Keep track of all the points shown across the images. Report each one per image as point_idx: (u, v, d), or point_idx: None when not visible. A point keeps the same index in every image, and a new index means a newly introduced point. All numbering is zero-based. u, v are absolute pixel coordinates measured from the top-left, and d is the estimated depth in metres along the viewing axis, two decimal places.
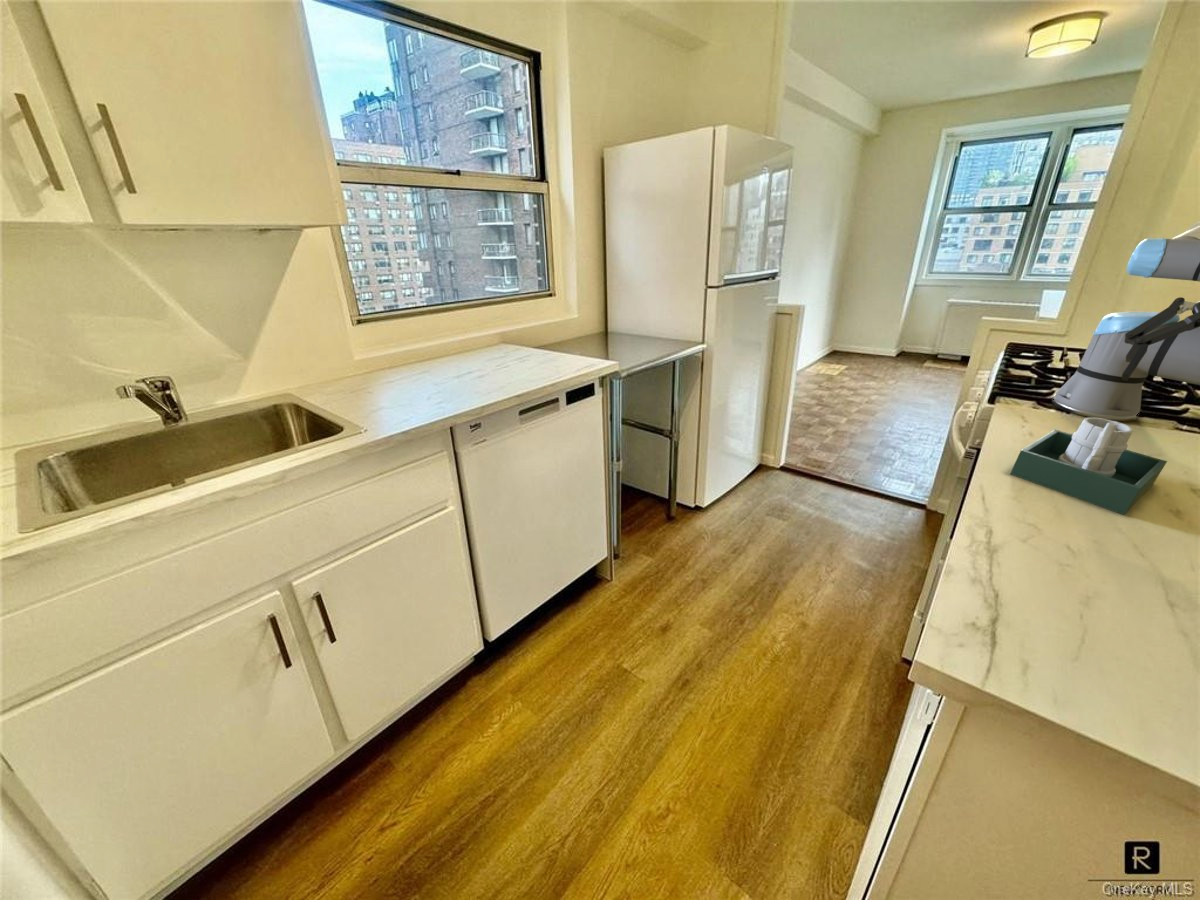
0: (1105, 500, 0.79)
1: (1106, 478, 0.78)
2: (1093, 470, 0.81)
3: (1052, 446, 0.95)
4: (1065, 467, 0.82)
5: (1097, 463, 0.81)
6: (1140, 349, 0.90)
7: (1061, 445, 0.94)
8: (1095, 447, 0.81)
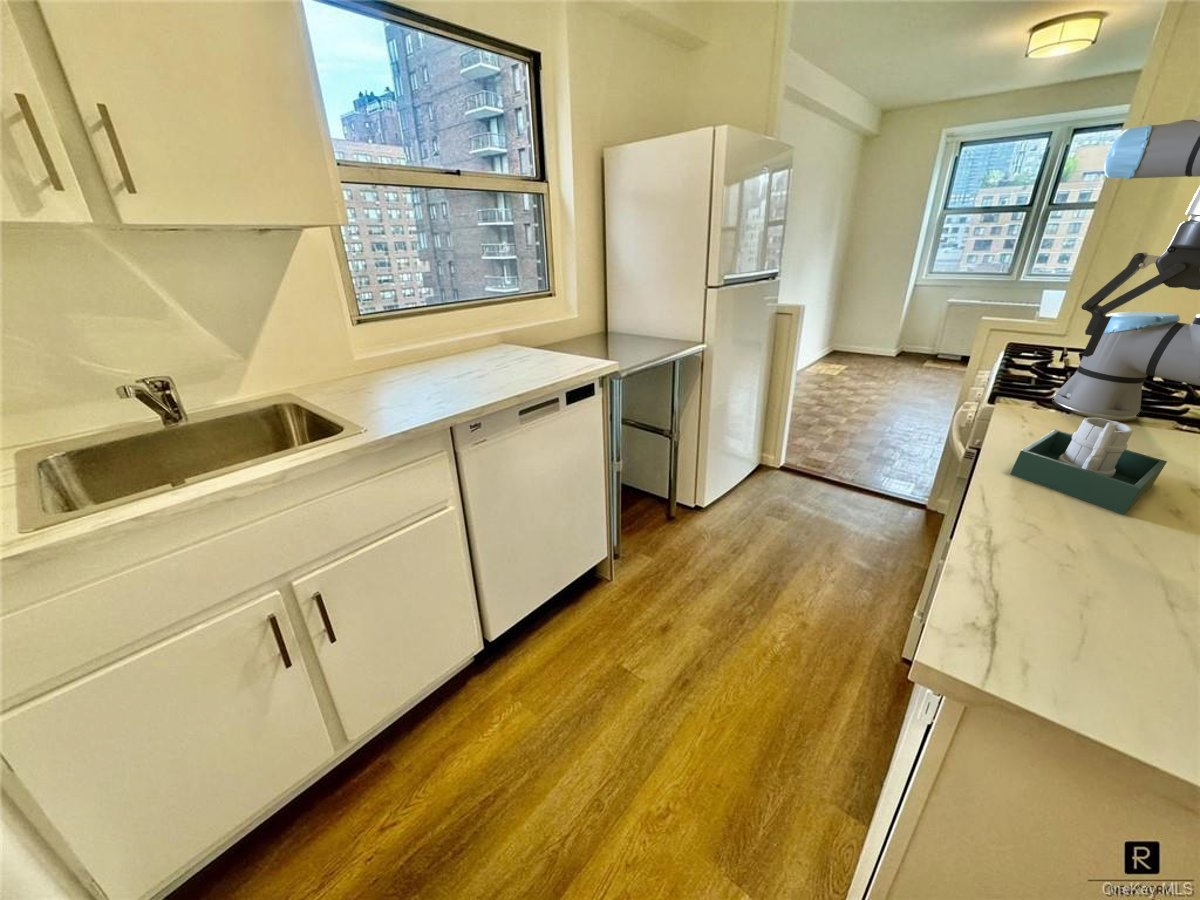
0: (1105, 500, 0.79)
1: (1106, 478, 0.78)
2: (1093, 470, 0.81)
3: (1052, 446, 0.95)
4: (1065, 467, 0.82)
5: (1097, 463, 0.81)
6: (1098, 325, 0.80)
7: (1061, 445, 0.94)
8: (1095, 447, 0.81)
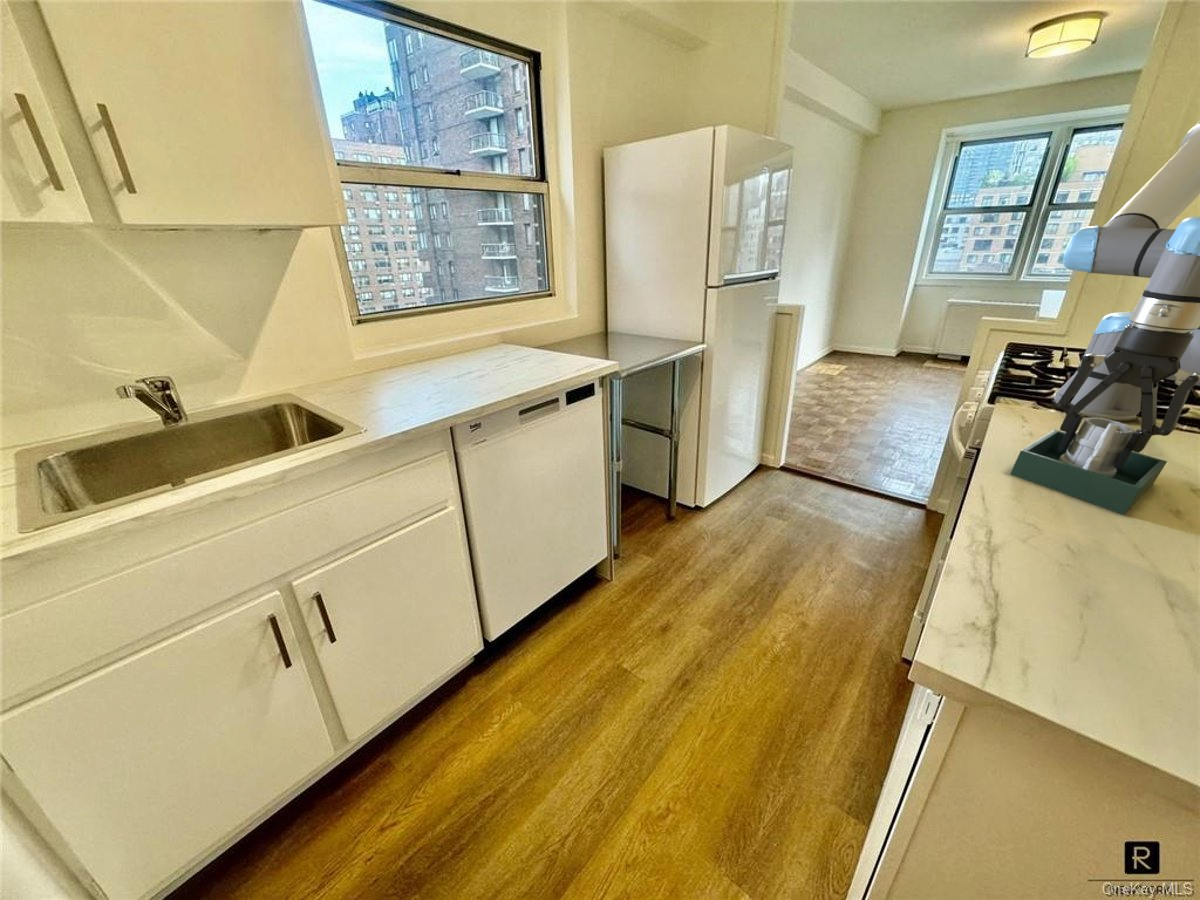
0: (1105, 500, 0.79)
1: (1106, 478, 0.78)
2: (1094, 470, 0.81)
3: (1052, 446, 0.95)
4: (1065, 467, 0.82)
5: (1098, 464, 0.81)
6: (1072, 423, 0.85)
7: None
8: (1096, 448, 0.81)
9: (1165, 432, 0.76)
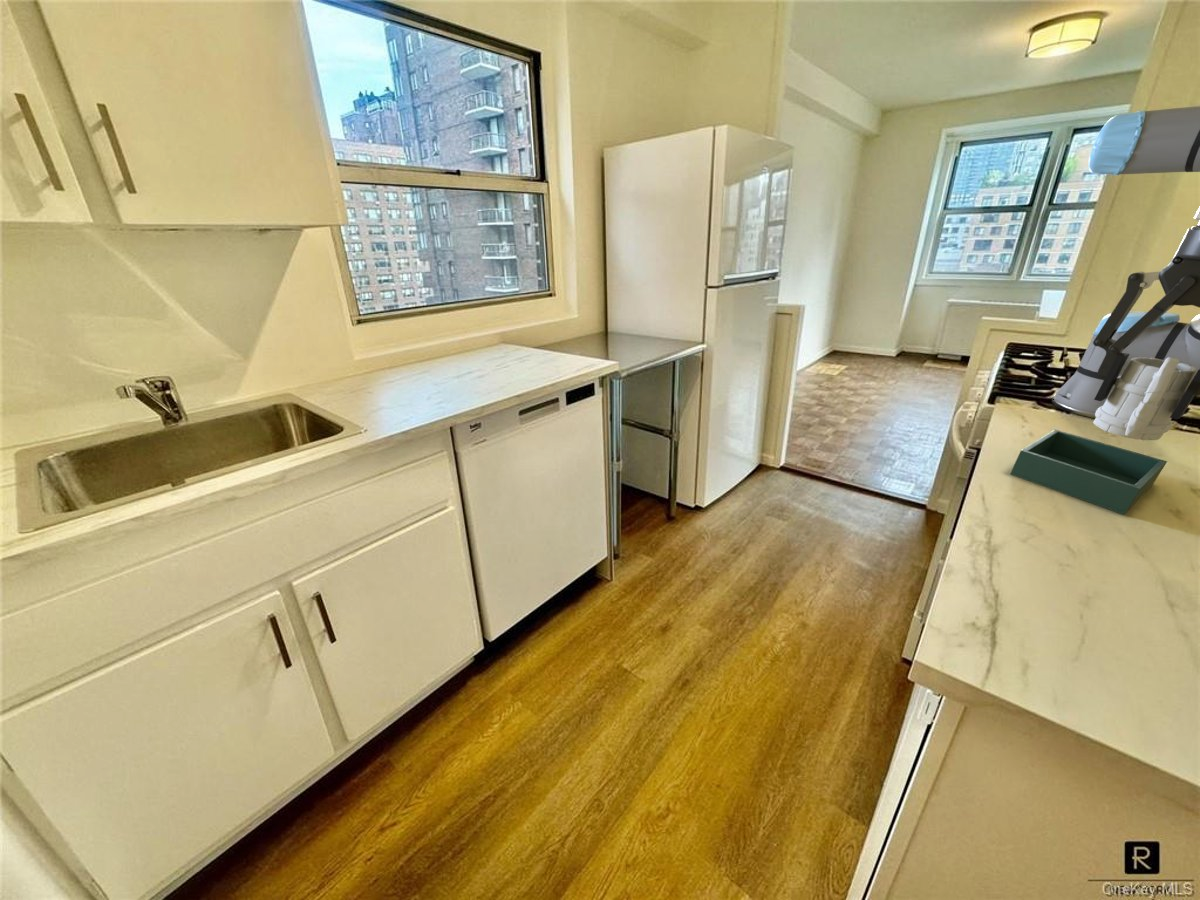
0: (1105, 500, 0.79)
1: (1106, 478, 0.78)
2: (1146, 421, 0.63)
3: (1052, 446, 0.95)
4: (1065, 467, 0.82)
5: (1152, 412, 0.62)
6: (1114, 364, 0.67)
7: (1061, 445, 0.94)
8: (1149, 391, 0.62)
9: None
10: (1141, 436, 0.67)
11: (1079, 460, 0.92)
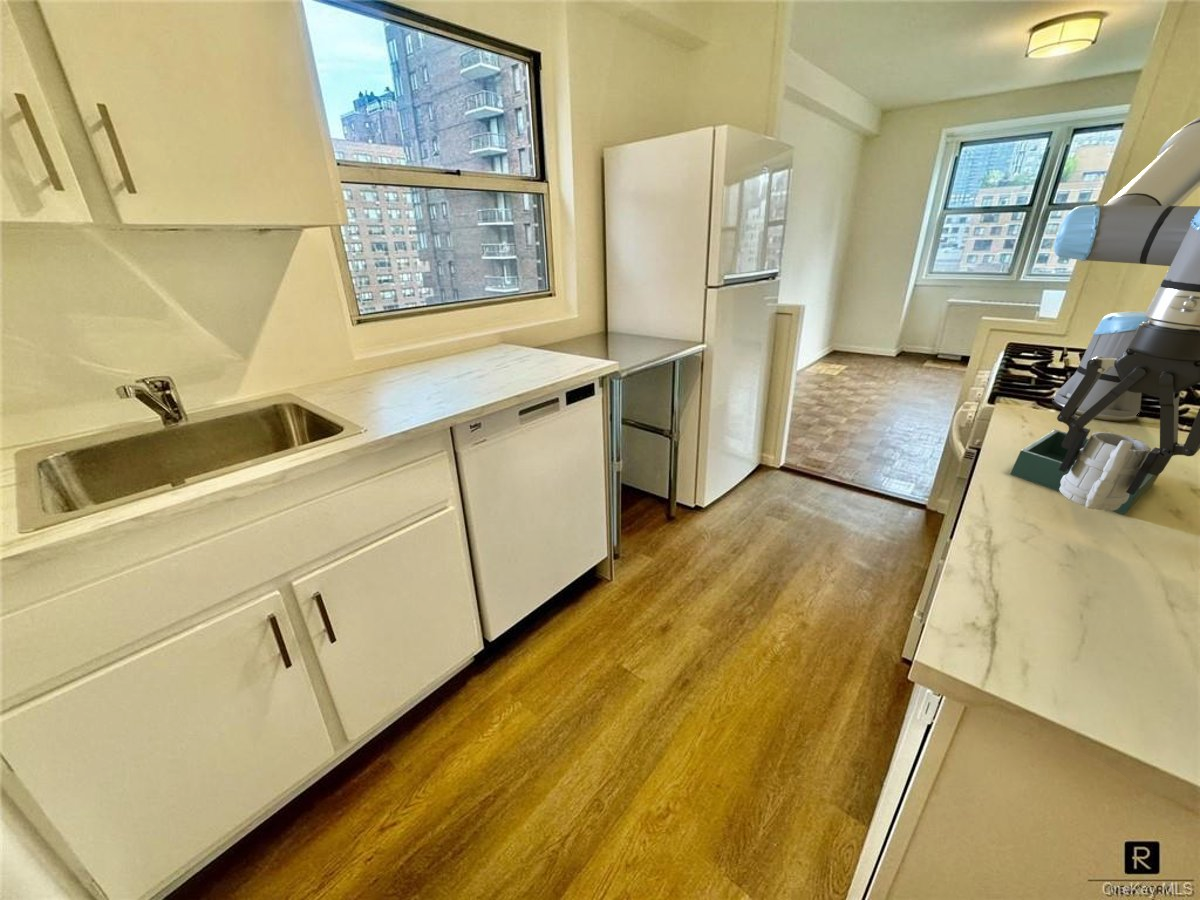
0: None
1: None
2: (1103, 497, 0.68)
3: (1052, 446, 0.95)
4: None
5: (1108, 489, 0.67)
6: (1075, 440, 0.72)
7: (1061, 445, 0.94)
8: (1106, 469, 0.67)
9: (1189, 452, 0.63)
10: (1101, 506, 0.72)
11: None
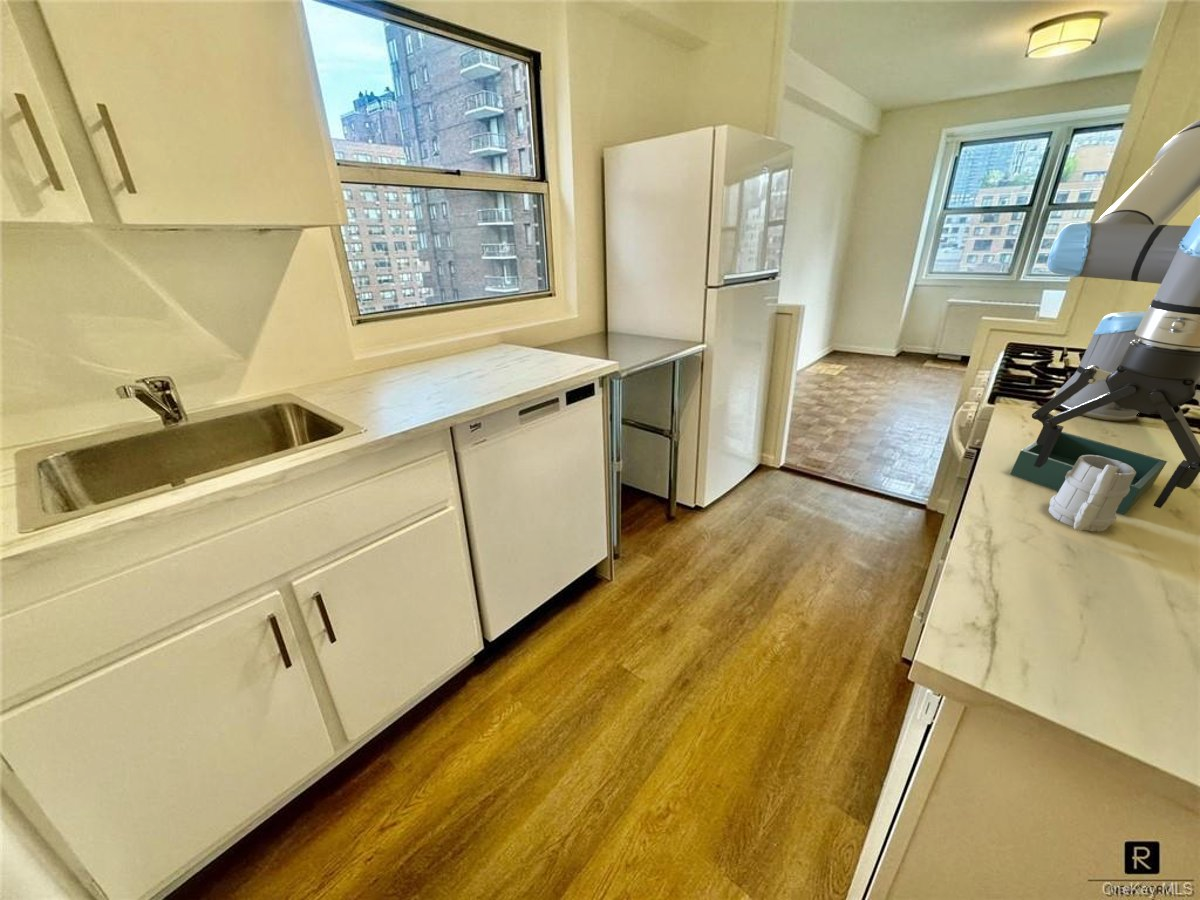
0: None
1: None
2: (1090, 519, 0.70)
3: None
4: (1065, 467, 0.82)
5: (1095, 511, 0.69)
6: (1049, 436, 0.74)
7: (1061, 445, 0.94)
8: (1092, 493, 0.69)
9: None
10: (1089, 528, 0.73)
11: None
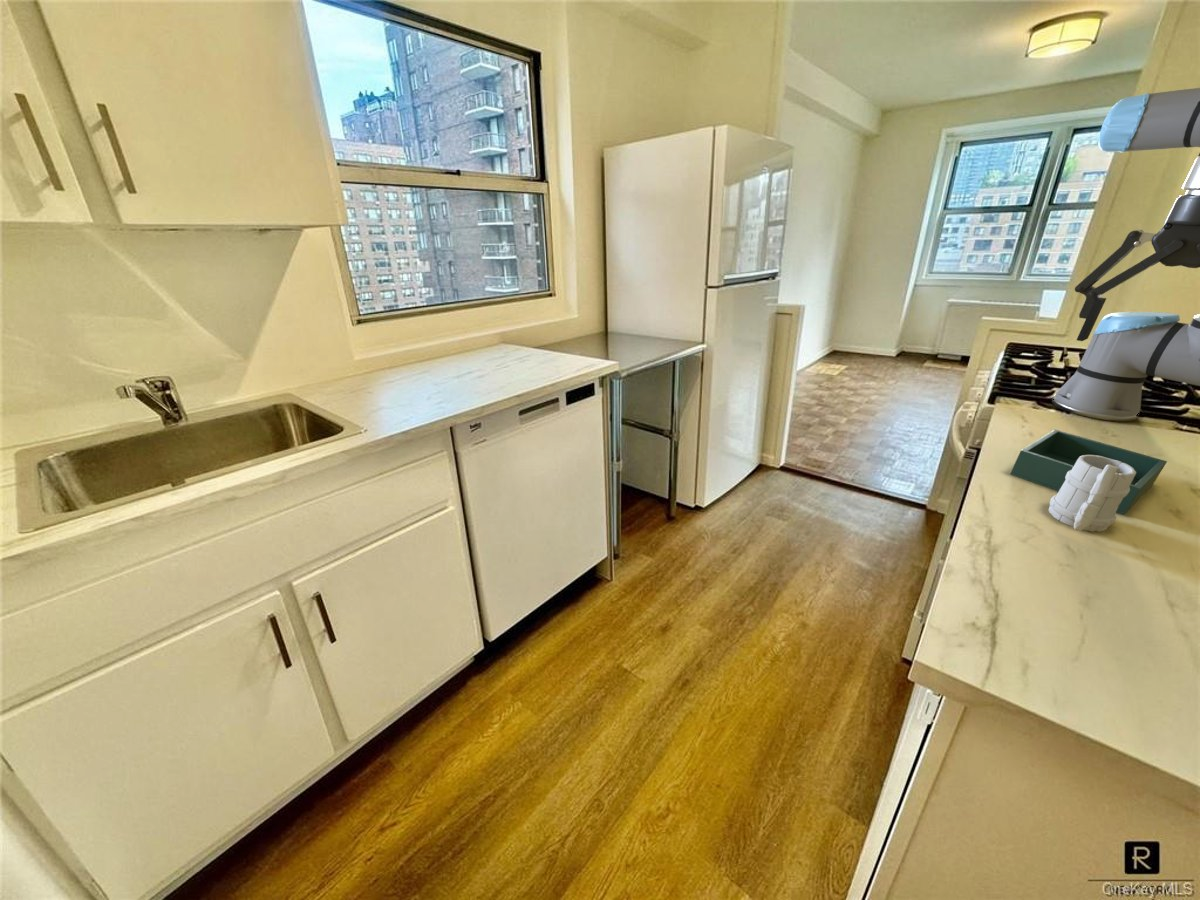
0: None
1: None
2: (1090, 519, 0.70)
3: (1052, 446, 0.95)
4: (1065, 467, 0.82)
5: (1095, 511, 0.69)
6: (1093, 307, 0.76)
7: (1061, 445, 0.94)
8: (1092, 493, 0.69)
9: None
10: (1089, 528, 0.73)
11: None
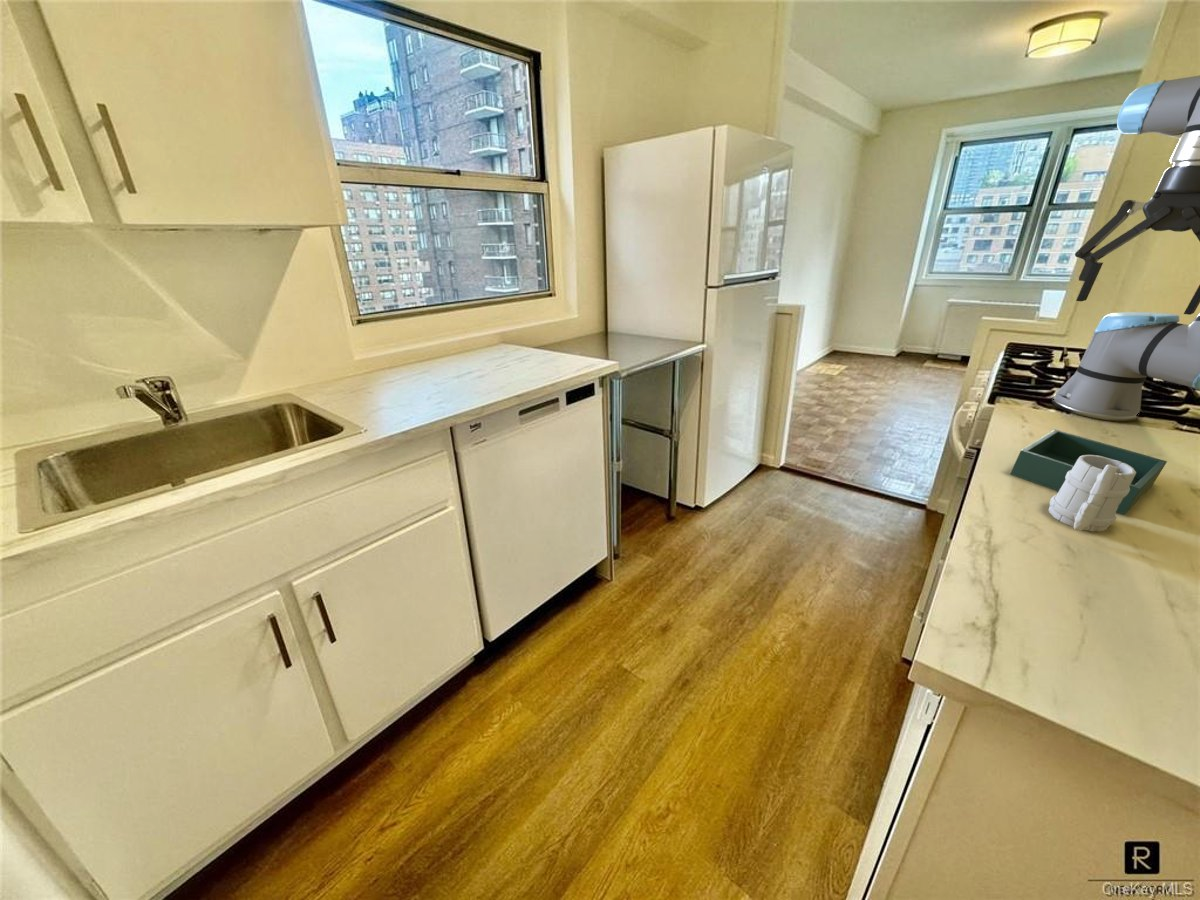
0: None
1: None
2: (1090, 519, 0.70)
3: (1052, 446, 0.95)
4: (1065, 467, 0.82)
5: (1095, 511, 0.69)
6: (1091, 270, 0.86)
7: (1061, 445, 0.94)
8: (1092, 493, 0.69)
9: None
10: (1089, 528, 0.73)
11: None
